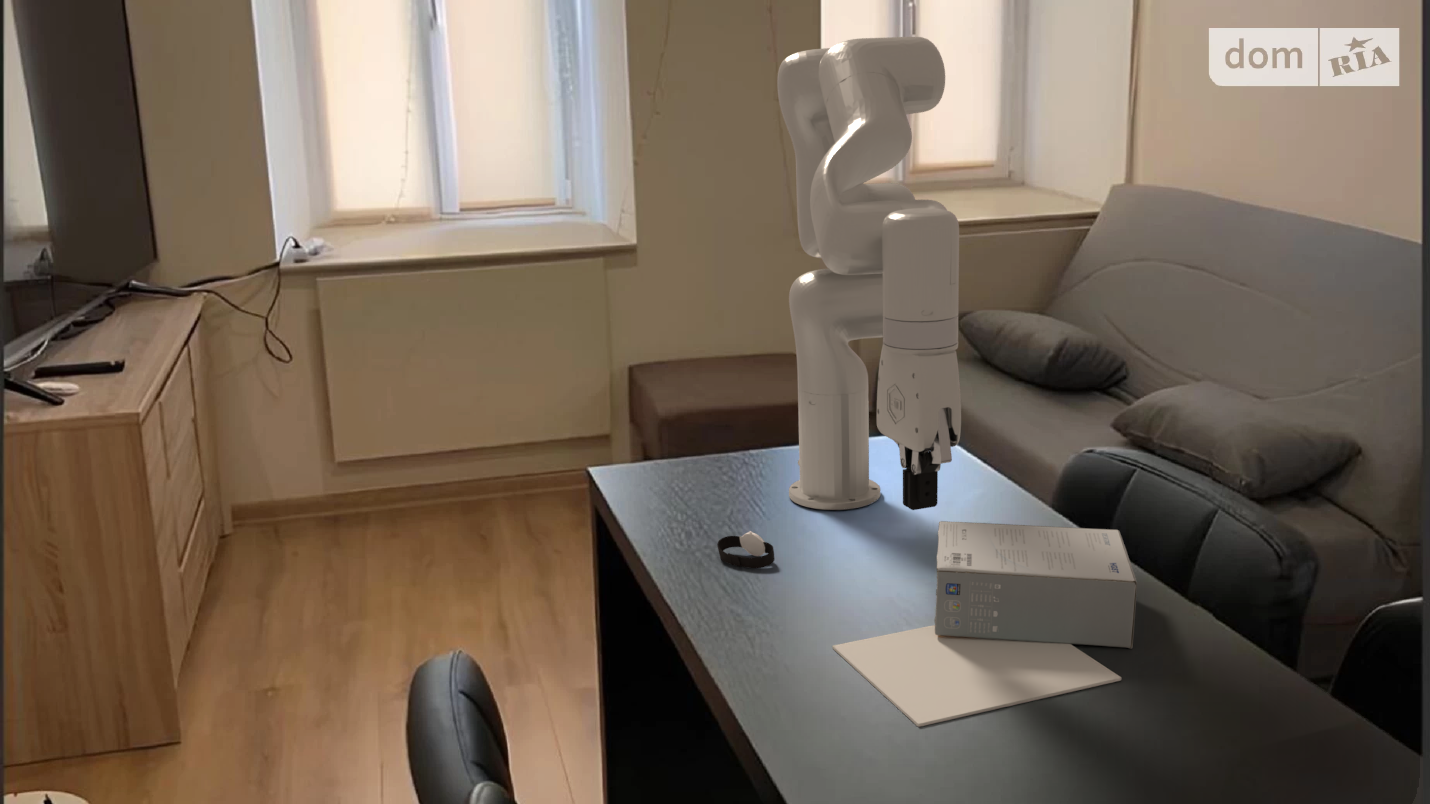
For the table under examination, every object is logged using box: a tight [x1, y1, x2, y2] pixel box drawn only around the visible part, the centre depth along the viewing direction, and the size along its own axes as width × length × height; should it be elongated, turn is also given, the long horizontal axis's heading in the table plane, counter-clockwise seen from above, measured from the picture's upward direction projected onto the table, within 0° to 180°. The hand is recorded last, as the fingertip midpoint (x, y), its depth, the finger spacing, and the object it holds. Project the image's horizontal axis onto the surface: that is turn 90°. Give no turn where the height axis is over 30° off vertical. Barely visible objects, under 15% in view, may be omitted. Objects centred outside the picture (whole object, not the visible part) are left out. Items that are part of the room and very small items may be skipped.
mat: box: [832, 624, 1122, 728], centre depth 130 cm, size 18×22×1 cm
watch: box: [716, 530, 775, 569], centre depth 159 cm, size 8×5×4 cm, turn 54°
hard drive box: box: [934, 520, 1138, 649], centre depth 140 cm, size 16×8×20 cm
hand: (920, 505), depth 136 cm, fingers closed
